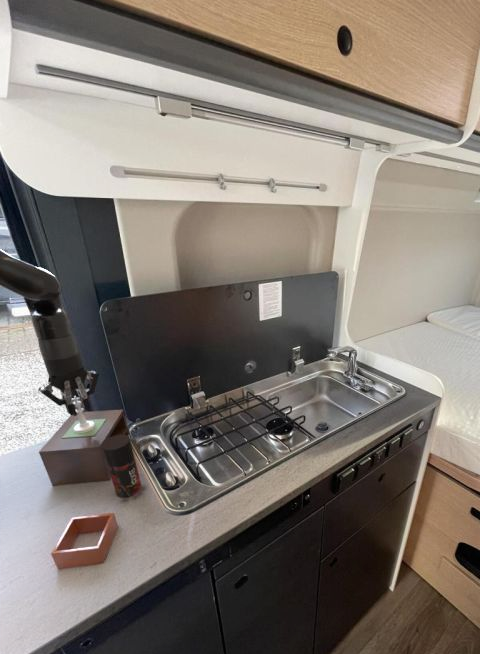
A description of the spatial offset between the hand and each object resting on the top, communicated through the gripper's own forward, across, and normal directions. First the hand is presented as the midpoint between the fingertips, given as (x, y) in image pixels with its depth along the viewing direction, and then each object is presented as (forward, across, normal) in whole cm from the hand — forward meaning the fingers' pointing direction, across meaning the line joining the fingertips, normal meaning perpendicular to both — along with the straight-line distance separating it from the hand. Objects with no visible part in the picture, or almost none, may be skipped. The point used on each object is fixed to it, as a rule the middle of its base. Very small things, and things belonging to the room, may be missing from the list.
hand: (79, 412), depth 87 cm
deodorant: (+16, 0, +18) cm, 25 cm away
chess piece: (+5, 0, 0) cm, 5 cm away
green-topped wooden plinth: (+16, 0, 0) cm, 16 cm away
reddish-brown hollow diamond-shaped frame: (+16, +13, +28) cm, 35 cm away
